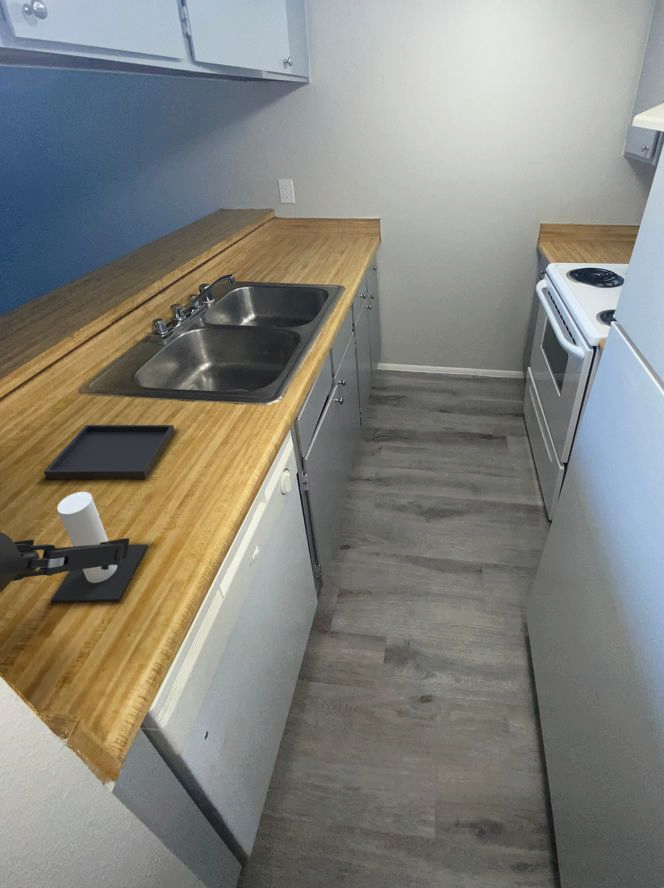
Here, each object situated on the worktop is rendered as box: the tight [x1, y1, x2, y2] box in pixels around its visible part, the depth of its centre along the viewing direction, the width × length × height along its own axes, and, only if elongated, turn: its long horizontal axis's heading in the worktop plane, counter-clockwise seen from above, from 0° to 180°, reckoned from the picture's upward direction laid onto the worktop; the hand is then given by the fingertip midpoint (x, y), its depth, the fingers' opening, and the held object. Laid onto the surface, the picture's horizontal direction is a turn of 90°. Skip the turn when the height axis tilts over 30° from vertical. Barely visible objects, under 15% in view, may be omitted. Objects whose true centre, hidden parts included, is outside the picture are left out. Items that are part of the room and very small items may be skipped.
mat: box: [50, 544, 149, 604], centre depth 76 cm, size 10×10×1 cm
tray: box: [43, 424, 176, 480], centre depth 101 cm, size 19×15×2 cm
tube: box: [56, 491, 117, 583], centre depth 72 cm, size 4×4×15 cm
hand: (78, 548), depth 70 cm, fingers open, 13 cm apart
